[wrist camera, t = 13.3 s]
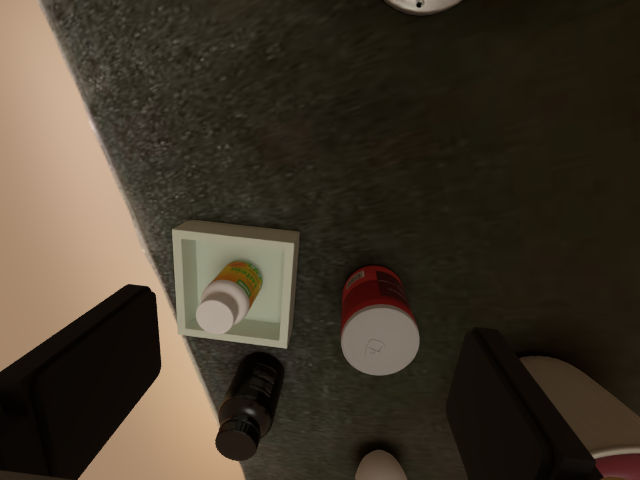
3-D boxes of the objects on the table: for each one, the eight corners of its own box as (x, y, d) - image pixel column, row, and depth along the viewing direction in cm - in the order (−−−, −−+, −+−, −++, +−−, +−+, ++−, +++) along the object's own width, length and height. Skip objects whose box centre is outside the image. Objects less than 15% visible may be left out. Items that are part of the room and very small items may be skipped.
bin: (190, 219, 41) (172, 229, 37) (299, 231, 41) (294, 243, 36) (193, 315, 46) (178, 334, 41) (292, 328, 45) (286, 348, 41)
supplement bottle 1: (271, 272, 42) (249, 311, 33) (252, 303, 43) (226, 349, 34) (234, 250, 41) (201, 284, 32) (216, 282, 43) (180, 323, 34)
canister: (433, 406, 47) (495, 606, 27) (512, 310, 42) (663, 474, 22) (538, 456, 49) (670, 682, 29) (629, 370, 43) (873, 577, 23)
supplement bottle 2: (230, 361, 48) (193, 433, 36) (269, 344, 46) (244, 414, 35) (255, 395, 49) (227, 474, 38) (293, 380, 48) (276, 457, 37)
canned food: (338, 313, 44) (335, 370, 33) (347, 259, 41) (346, 302, 31) (395, 322, 43) (410, 381, 33) (407, 267, 41) (428, 313, 31)
